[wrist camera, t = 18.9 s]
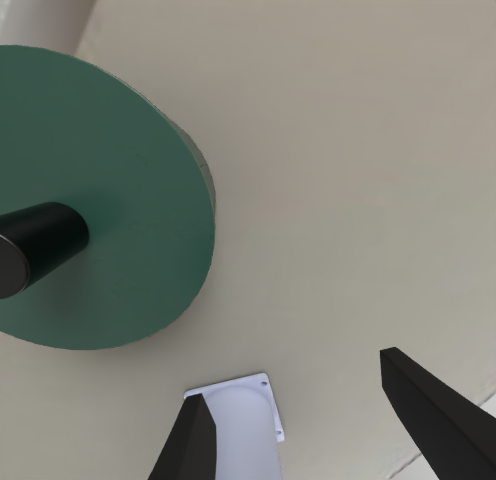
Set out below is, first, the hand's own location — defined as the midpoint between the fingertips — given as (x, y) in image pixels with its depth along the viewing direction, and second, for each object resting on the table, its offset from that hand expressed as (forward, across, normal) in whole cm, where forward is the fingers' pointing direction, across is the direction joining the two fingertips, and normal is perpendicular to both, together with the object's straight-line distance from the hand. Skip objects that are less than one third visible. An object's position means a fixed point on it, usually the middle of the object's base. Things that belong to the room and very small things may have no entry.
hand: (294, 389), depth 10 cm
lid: (+4, +8, -8) cm, 12 cm away
